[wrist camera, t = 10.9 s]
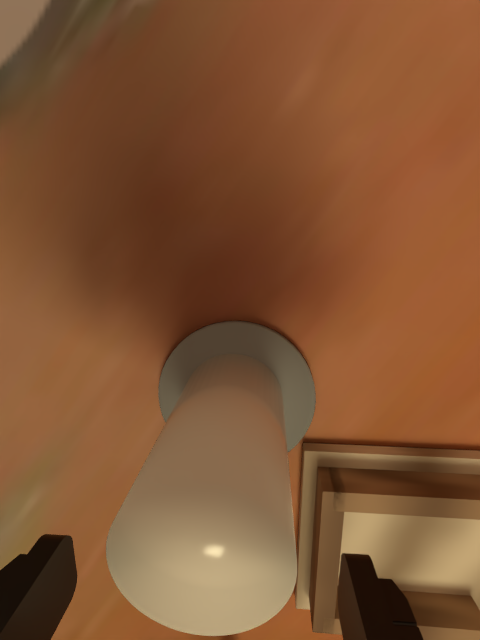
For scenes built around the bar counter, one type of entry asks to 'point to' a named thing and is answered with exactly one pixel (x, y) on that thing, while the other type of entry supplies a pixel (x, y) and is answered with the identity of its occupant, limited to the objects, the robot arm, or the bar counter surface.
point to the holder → (393, 531)
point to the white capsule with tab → (212, 507)
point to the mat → (253, 344)
